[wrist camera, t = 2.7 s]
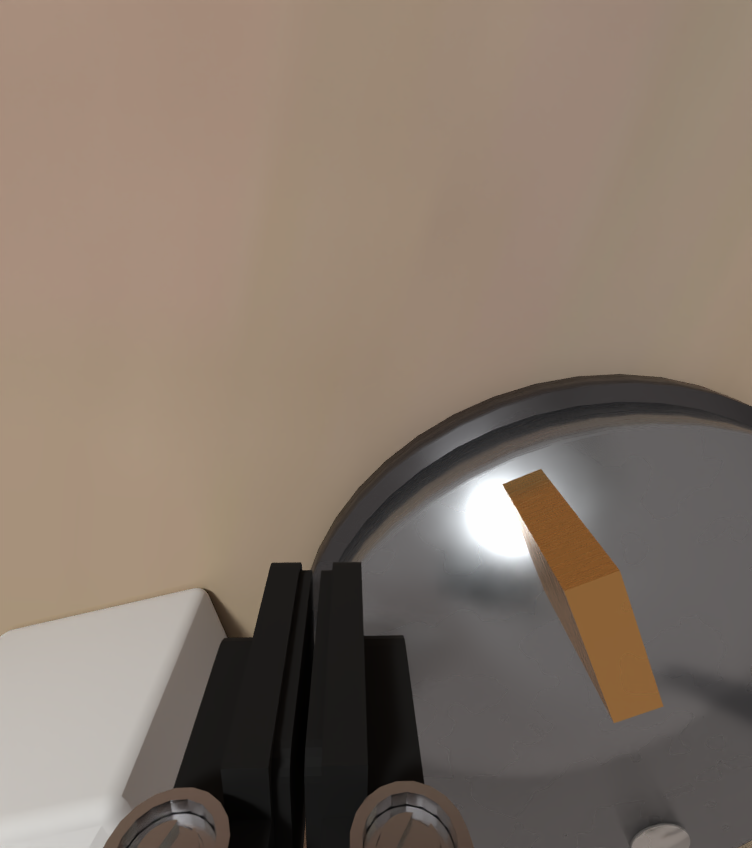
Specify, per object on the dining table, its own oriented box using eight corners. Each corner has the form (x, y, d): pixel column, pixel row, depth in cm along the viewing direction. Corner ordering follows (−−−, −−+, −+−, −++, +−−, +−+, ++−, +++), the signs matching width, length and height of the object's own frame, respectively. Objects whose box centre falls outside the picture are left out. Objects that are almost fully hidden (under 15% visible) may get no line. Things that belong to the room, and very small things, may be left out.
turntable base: (289, 370, 15) (285, 380, 14) (933, 377, 15) (970, 387, 14) (306, 819, 21) (304, 847, 20) (753, 807, 22) (771, 833, 21)
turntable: (874, 741, 20) (1083, 948, 14) (431, 881, 21) (458, 1112, 16) (821, 293, 13) (1159, 342, 8) (208, 547, 15) (124, 731, 10)
